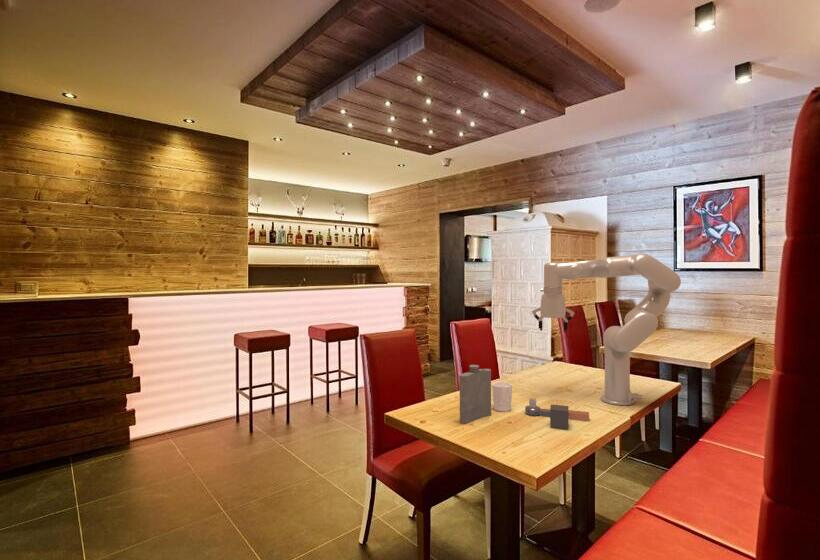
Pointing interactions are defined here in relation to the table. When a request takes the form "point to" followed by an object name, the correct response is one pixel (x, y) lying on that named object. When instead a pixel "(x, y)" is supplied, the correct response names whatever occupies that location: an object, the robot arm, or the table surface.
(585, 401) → the table surface
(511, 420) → the table surface
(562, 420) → the two-tone cube
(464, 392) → the hip flask
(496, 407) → the peach tapered cup
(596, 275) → the robot arm
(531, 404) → the ratchet
